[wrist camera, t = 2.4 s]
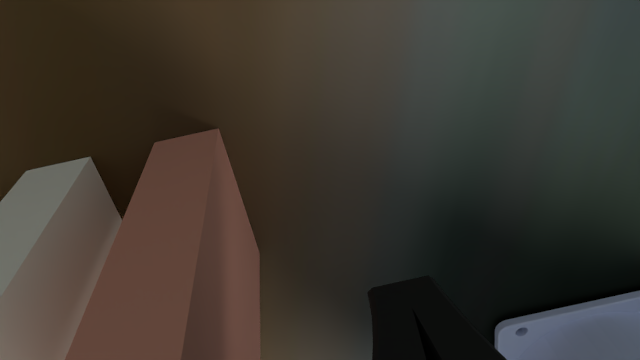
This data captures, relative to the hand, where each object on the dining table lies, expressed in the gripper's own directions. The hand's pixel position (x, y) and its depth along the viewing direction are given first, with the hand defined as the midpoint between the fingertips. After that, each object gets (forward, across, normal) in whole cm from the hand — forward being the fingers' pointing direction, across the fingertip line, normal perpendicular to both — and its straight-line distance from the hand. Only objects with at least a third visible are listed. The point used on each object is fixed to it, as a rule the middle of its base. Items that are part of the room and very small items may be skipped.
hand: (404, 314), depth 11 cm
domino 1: (+6, +5, 0) cm, 8 cm away
